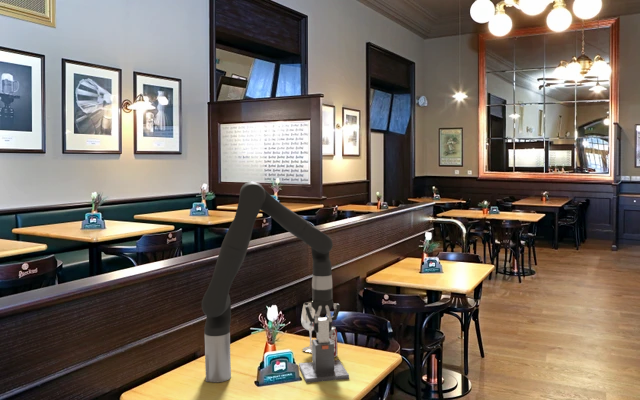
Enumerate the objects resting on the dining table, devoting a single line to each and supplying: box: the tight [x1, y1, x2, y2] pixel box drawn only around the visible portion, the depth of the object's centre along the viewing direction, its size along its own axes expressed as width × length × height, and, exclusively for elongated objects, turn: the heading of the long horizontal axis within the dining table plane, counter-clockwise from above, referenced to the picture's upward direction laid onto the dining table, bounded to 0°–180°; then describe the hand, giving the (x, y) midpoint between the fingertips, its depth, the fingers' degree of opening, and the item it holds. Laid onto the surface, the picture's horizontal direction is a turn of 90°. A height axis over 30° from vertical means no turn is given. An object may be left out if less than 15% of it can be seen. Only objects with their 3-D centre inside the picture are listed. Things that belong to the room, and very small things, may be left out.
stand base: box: [298, 338, 350, 384], centre depth 216 cm, size 16×16×12 cm
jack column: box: [316, 316, 329, 344], centre depth 216 cm, size 4×4×16 cm
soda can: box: [329, 325, 338, 358], centre depth 234 cm, size 7×7×12 cm
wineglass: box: [300, 301, 315, 354], centre depth 241 cm, size 8×8×20 cm
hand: (322, 331), depth 216 cm, fingers closed on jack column, 4 cm apart
